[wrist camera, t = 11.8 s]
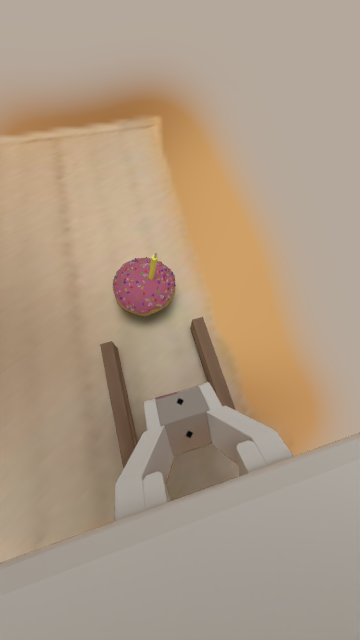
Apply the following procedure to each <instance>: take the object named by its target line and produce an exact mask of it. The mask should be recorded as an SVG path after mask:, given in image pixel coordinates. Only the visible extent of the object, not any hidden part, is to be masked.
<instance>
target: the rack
mask: <svg viewBox="0 0 360 640" xmlns="http://www.w3.org/2000/svg"><path fill="white" fill-rule="evenodd" d="M191 332H192V335H193V338H194V341H195V344H196V347H197V350H198V353H199V356H200V359H201V362H202V365H203V368H204V371H205V374H206V377H207V381H208V382H209V383H210V384H211V386H212V388H213V390H214V392H215V394H216V395H217V397H218V399H219V401H220V403H221V405H222V406H228V407H230V408H232V409H234V410H235V408H234V405H233V402H232V399H231V396H230V394H229V391H228V388H227V385H226V382H225V379H224V376H223V374H222V371H221V368H220V365H219V362H218V359H217V356H216V354H215V351H214V348H213V345H212V342H211V339H210V336H209V334H208V331H207V328H206V325H205V322H204V319H203V317H201V318H198V319H194V320H192V323H191ZM100 346H101V351H102V356H103V362H104V367H105V372H106V378H107V383H108V388H109V394H110V399H111V404H112V410H113V415H114V420H115V426H116V431H117V436H118V441H119V447H120V452H121V457H122V463H123V468H125V466H126V464H127V462H128V460H129V458H130V456H131V455H132V453H133V451H134V449H135V447H136V445H137V439H136V434H135V429H134V424H133V420H132V415H131V410H130V405H129V401H128V396H127V391H126V387H125V382H124V377H123V372H122V368H121V363H120V358H119V354H118V349H117V347H116V346H115V345H114V343H113V342H112V341H111V342H108V343H104V344H100Z"/></svg>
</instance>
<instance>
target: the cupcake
mask: <svg viewBox="0 0 360 640" xmlns="http://www.w3.org/2000/svg"><path fill="white" fill-rule="evenodd" d="M156 255H157V253H155V255H153V256H152V258H147V257H146V258H140V259H139V258H138V259H136V258H135V260H132V261H129V262H127V263H125V264H123V266H122V267H121V268H120V269H119V270H118V271H117V273H116V276H115V277H114V280H113V281H114V282H113V291H114V294H115V297H116V300H117V303H118V304H119V306H120V307H121V308H123V309H124V310H126V311H128V312H131V313H133V314H137V315H140V316H148V315H151V314H153V313H156V312H158V311H160V310H162V309H164V308H165V307H166V306H167V305H168V304H169V303H170V302H171V300H172V298H173V295H174V293H175V275H173V272H172V271H171V269H169V268H168V267H166V266H165V265H164V264H162V262H159V261H157V256H156Z"/></svg>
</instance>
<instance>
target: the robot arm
mask: <svg viewBox="0 0 360 640" xmlns="http://www.w3.org/2000/svg"><path fill="white" fill-rule="evenodd" d="M144 411H145V418H146V426H147V431H145V432H143V434H142V436H141V438H140V440H139V442H138V443H137V445H136V447H135V449H134V451H133V453H132V455H131V456H130V458H129V460H128V462H127V464H126V466H125V468H124V469H123V471H122V473H121V475H120V477H119V479H118V481H117V482H116V484H115V522H112V523H109V524H107V525H104V526H101V527H98V528H96V529H93V530H90V531H87V532H84V533H82V534H79V535H76V536H73V537H71V538H68V539H65V540H62V541H60V542H57V543H54V544H51V545H49V546H46V547H43V548H40V549H38V550H35V551H32V552H29V553H27V554H24V555H21V556H18V557H16V558H13V559H10V560H7V561H5V562H2V563H0V640H360V433H357V434H354V435H351V436H349V437H346V438H343V439H341V440H338V441H335V442H332V443H329V444H327V445H324V446H321V447H318V448H316V449H313V450H310V451H307V452H305V453H302V454H300V455H296V456H293V454H292V453H291V452H290V450H289V449H288V448H287V446H286V445H285V443H284V442H283V441H282V439H281V438H280V437H279V435H278V434H277V432H276V431H275V430H273V429H271V428H269V427H267V426H265V425H263V424H261V423H259V422H257V421H255V420H254V419H252V418H250V417H248V416H246V415H244V414H242V413H240V412H238V411H236V410H234V409H232V408H230V407H228V406H222V405H221V403H220V401H219V399H218V397H217V395H216V394H215V392H214V390H213V388H212V386H211V384H210V383H209V382H206V383H203V384H200V385H198V386H195V387H191V388H188V389H185V390H182V391H179V392H175V393H172V394H168V395H164V396H161V397H157V398H154V399H151V400H147V401H144ZM209 444H212V445H214V446H215V447H216V448H217V449H219V450H220V451H221V452H222V453H224V454H225V455H226V456H227V457H229V458H230V459H231V460H232V461H234V462H235V463H236V464H237V465H238V466H239V475H240V476H239V477H236V478H233V479H230V480H228V481H225V482H222V483H219V484H217V485H214V486H211V487H208V488H206V489H203V490H200V491H197V492H195V493H192V494H189V495H186V496H184V497H181V498H178V499H175V500H173V501H171V499H170V496H169V493H168V490H167V487H166V482H167V479H168V476H169V472H170V469H171V466H172V462H173V459H174V456H177V455H179V454H182V453H185V452H187V451H190V450H193V449H196V448H199V447H203V446H206V445H209Z"/></svg>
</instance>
